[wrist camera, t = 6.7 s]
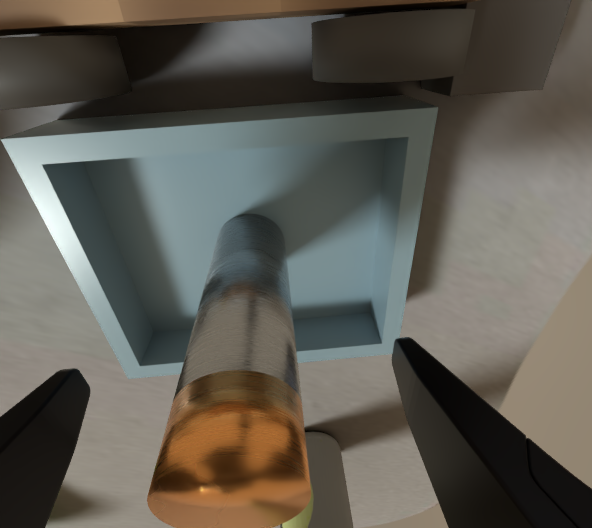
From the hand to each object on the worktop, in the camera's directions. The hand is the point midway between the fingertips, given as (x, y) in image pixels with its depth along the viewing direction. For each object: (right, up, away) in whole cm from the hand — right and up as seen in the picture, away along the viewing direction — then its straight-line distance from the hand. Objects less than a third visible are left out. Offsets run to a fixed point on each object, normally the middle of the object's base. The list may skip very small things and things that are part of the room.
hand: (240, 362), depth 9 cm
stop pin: (0, +4, +5) cm, 7 cm away
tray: (-1, +4, +6) cm, 7 cm away
